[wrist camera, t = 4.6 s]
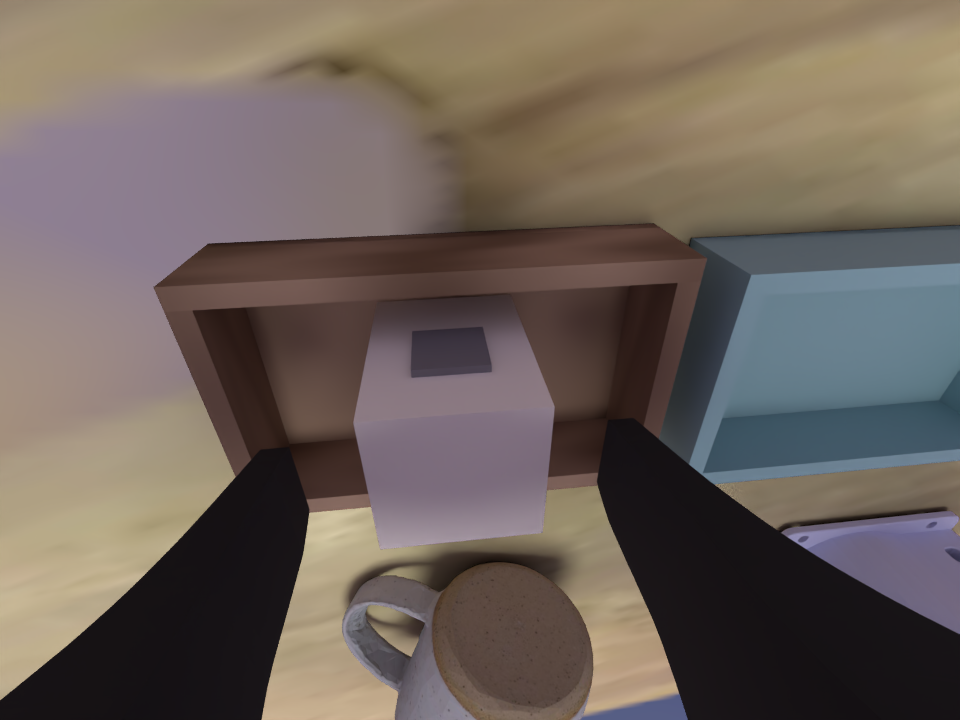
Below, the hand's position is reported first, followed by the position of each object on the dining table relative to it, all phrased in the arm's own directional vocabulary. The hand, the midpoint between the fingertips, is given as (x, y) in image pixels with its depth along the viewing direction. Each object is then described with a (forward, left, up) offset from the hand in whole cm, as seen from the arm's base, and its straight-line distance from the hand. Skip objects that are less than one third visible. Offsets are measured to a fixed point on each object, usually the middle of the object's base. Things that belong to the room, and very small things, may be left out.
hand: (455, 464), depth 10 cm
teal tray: (-14, +1, -5) cm, 15 cm away
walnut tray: (0, 0, -5) cm, 5 cm away
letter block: (0, 0, -5) cm, 5 cm away
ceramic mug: (0, +15, -6) cm, 16 cm away
